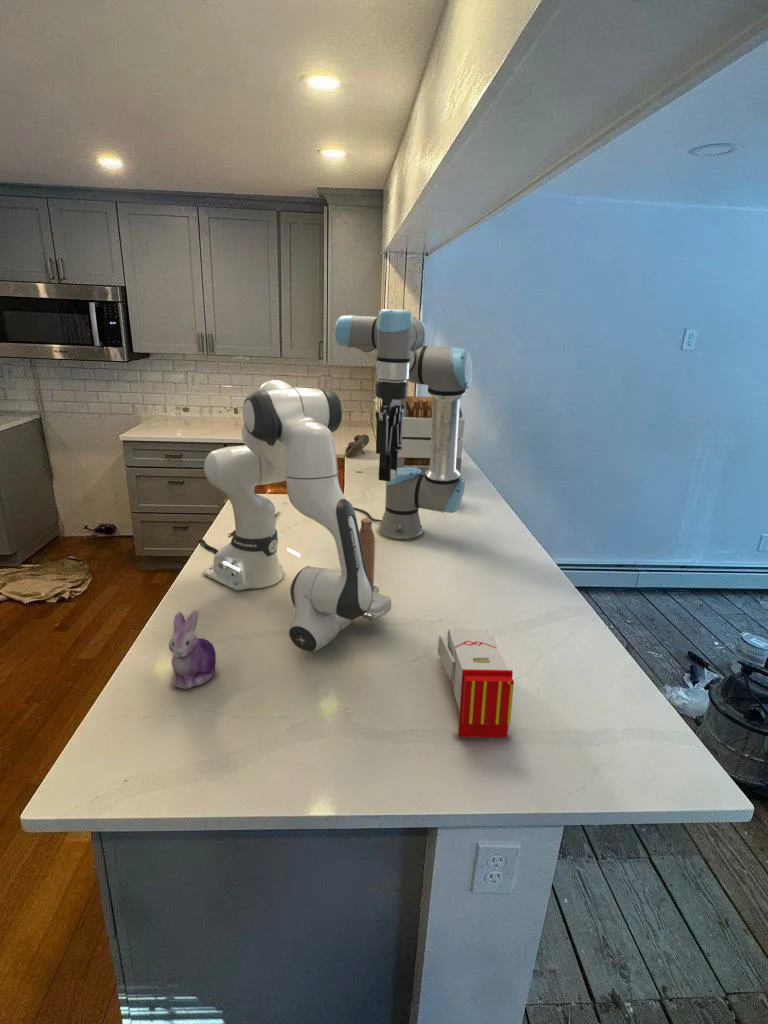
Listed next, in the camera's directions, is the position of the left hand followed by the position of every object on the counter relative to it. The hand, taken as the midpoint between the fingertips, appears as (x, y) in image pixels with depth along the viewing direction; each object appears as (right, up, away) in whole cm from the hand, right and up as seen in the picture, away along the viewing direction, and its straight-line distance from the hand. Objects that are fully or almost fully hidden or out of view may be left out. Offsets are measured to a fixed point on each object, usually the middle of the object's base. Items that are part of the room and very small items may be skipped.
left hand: (365, 585), depth 148 cm
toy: (+23, -18, -30) cm, 42 cm away
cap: (+6, +29, -10) cm, 31 cm away
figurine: (-35, -15, -29) cm, 48 cm away
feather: (-35, +18, +64) cm, 75 cm away
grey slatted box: (+22, +38, +127) cm, 134 cm away
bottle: (-1, -6, +1) cm, 6 cm away
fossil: (-10, +51, +158) cm, 166 cm away
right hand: (+6, +28, -10) cm, 30 cm away
